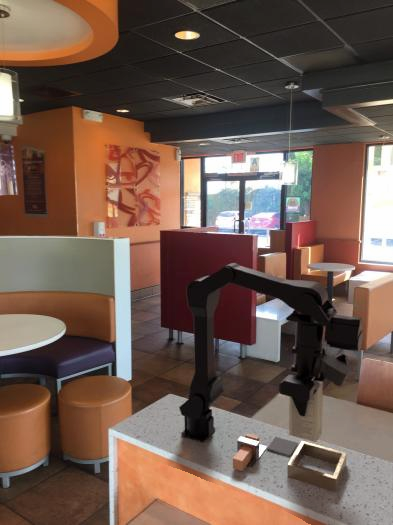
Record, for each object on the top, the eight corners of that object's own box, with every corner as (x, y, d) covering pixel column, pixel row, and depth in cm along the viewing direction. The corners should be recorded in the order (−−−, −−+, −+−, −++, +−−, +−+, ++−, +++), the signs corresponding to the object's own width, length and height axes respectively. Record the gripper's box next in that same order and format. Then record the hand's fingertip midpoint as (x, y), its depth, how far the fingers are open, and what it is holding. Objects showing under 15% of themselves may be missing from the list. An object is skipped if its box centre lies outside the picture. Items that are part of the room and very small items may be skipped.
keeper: (232, 462, 99) (232, 445, 99) (248, 442, 107) (249, 426, 106) (252, 468, 97) (252, 451, 96) (267, 447, 105) (267, 431, 104)
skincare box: (322, 433, 98) (325, 381, 95) (316, 443, 94) (319, 389, 92) (293, 425, 101) (296, 375, 99) (287, 434, 97) (289, 382, 95)
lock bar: (231, 467, 97) (231, 452, 96) (247, 447, 104) (247, 432, 103) (243, 471, 95) (243, 456, 94) (259, 450, 102) (259, 436, 102)
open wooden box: (287, 477, 94) (287, 464, 93) (301, 452, 102) (301, 440, 102) (335, 492, 89) (336, 479, 88) (346, 465, 97) (346, 452, 97)
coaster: (267, 450, 104) (267, 448, 103) (275, 438, 108) (275, 436, 108) (290, 456, 101) (290, 455, 101) (297, 444, 106) (297, 442, 105)
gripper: (337, 366, 82) (332, 443, 84) (357, 336, 97) (353, 402, 100) (279, 354, 87) (276, 427, 90) (307, 327, 103) (304, 390, 106)
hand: (305, 410), depth 96 cm, fingers closed on skincare box, 4 cm apart
